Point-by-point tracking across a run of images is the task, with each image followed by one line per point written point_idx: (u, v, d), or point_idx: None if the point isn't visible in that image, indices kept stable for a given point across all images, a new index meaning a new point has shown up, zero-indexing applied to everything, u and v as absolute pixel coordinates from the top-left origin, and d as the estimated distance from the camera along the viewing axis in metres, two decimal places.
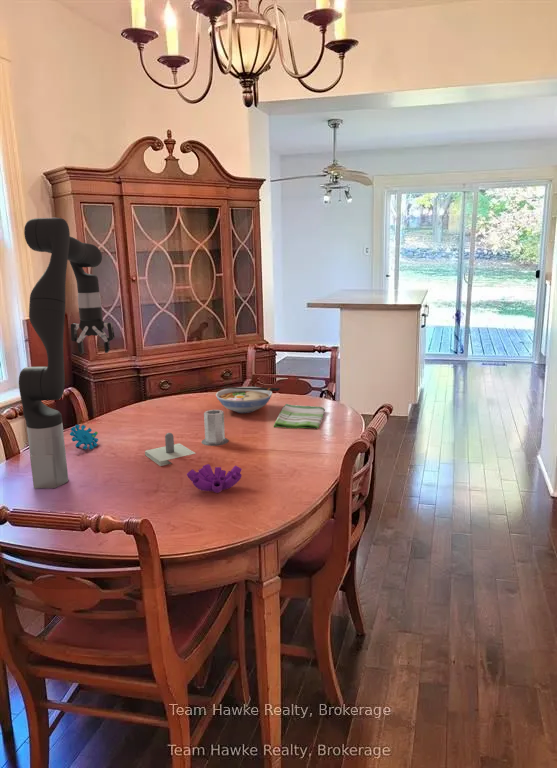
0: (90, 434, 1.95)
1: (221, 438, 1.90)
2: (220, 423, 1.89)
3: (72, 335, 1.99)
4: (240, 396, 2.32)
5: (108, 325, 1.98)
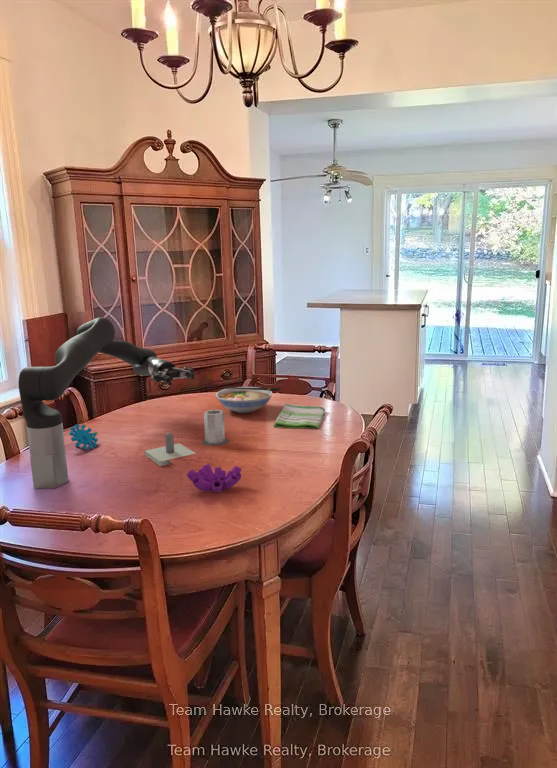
0: (90, 434, 1.95)
1: (221, 438, 1.90)
2: (220, 423, 1.89)
3: (156, 374, 2.00)
4: (240, 396, 2.32)
5: (185, 367, 2.09)
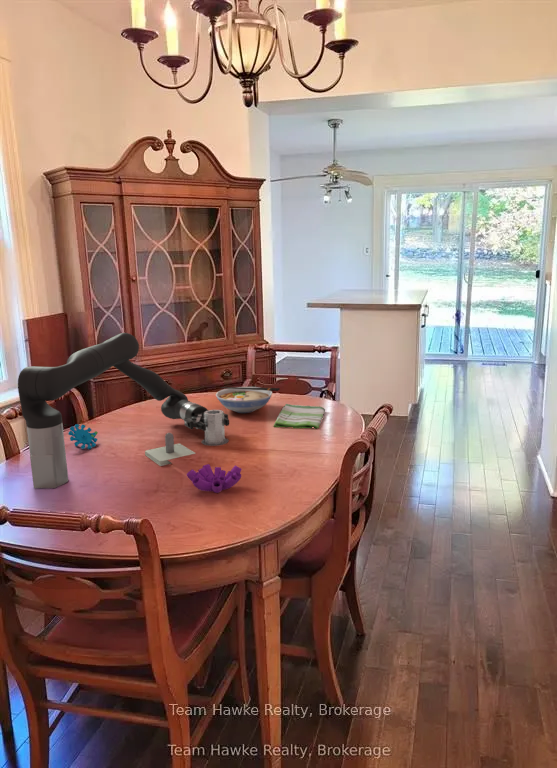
0: (89, 434, 1.95)
1: (221, 438, 1.90)
2: (220, 423, 1.89)
3: (190, 420, 1.91)
4: (240, 396, 2.32)
5: None
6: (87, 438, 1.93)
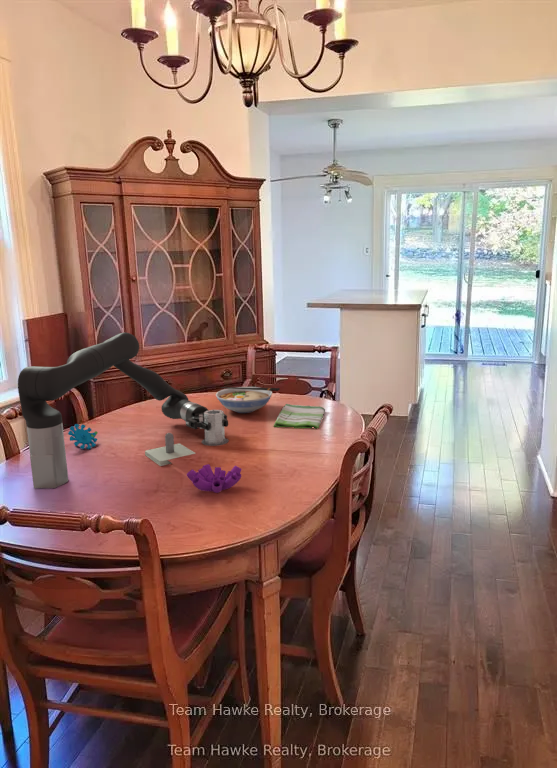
0: (89, 434, 1.95)
1: (221, 438, 1.90)
2: (220, 423, 1.89)
3: (193, 420, 1.91)
4: (240, 396, 2.32)
5: None
6: (87, 438, 1.93)
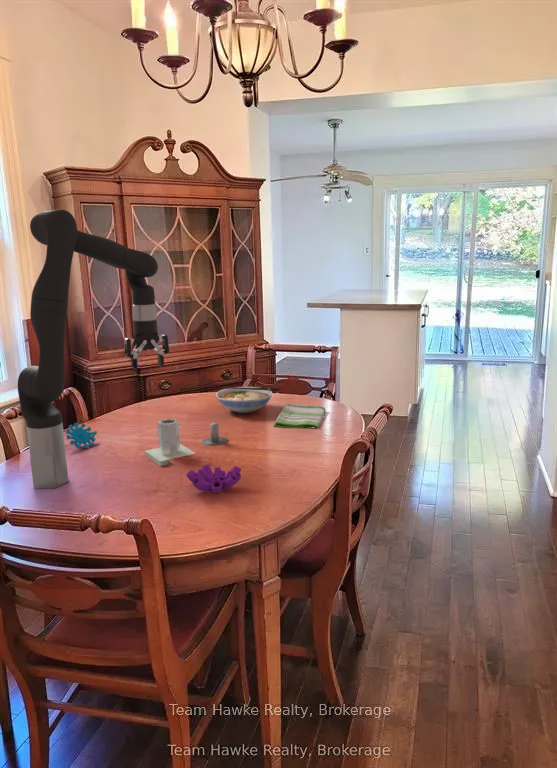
0: (88, 433, 1.96)
1: (176, 449, 1.81)
2: (174, 433, 1.80)
3: (129, 351, 1.83)
4: (240, 396, 2.32)
5: (165, 337, 1.90)
6: (84, 437, 1.94)
